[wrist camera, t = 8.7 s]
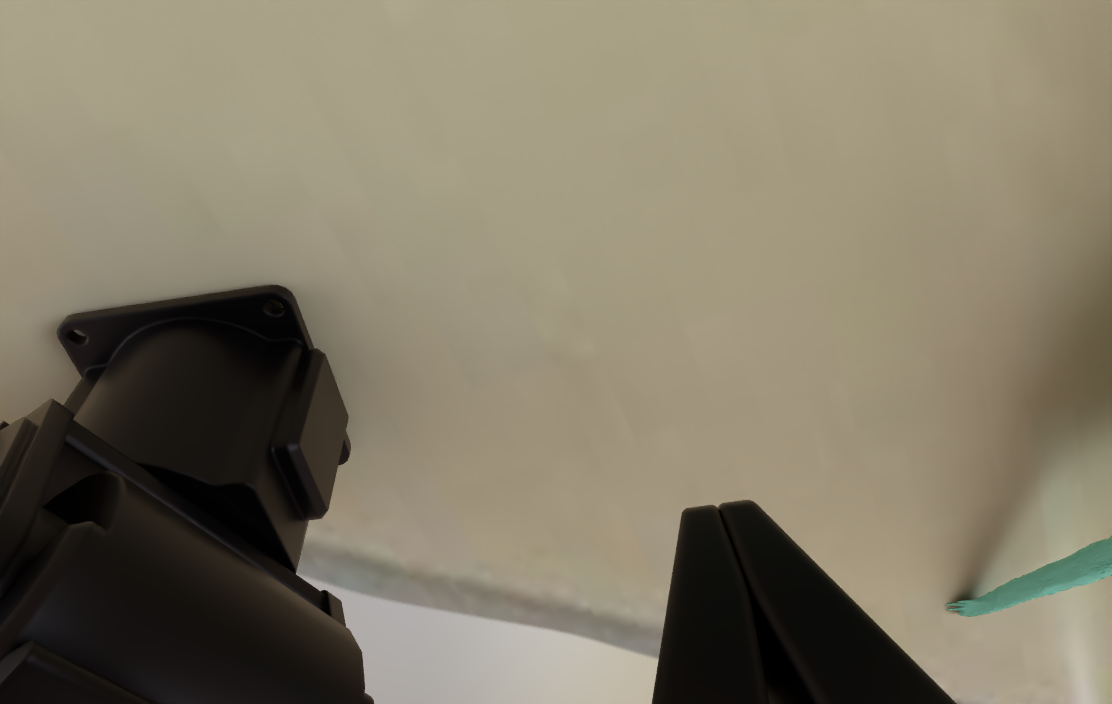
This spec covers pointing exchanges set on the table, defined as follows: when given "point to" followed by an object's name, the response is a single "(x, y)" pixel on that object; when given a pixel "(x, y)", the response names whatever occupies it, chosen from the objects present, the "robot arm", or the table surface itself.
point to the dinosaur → (1045, 580)
